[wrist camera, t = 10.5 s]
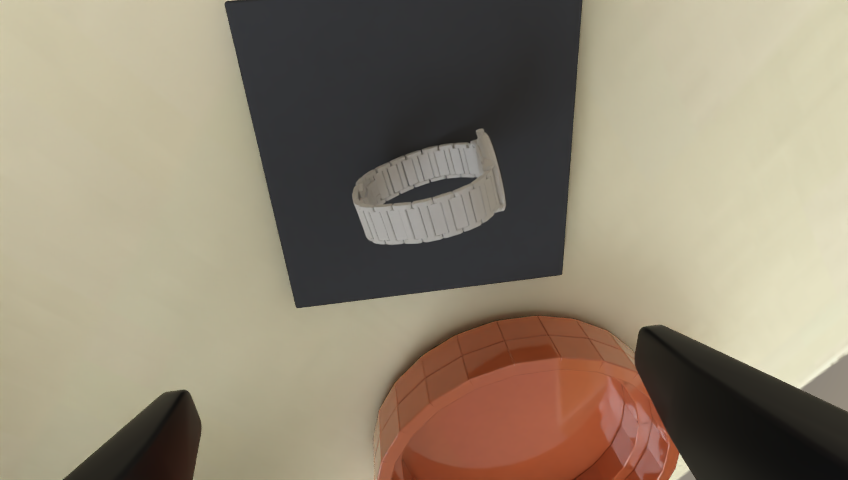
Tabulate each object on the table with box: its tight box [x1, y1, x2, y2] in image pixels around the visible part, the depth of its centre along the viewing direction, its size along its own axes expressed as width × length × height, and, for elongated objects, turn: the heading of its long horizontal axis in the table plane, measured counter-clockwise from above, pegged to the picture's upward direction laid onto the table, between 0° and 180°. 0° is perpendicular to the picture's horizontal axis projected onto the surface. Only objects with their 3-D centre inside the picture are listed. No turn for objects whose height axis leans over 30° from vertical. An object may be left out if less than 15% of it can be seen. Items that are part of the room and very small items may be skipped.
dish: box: [373, 315, 679, 480], centre depth 25 cm, size 15×15×4 cm
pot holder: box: [225, 0, 582, 308], centre depth 19 cm, size 12×12×1 cm
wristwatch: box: [352, 129, 507, 245], centre depth 16 cm, size 3×5×5 cm, turn 105°
